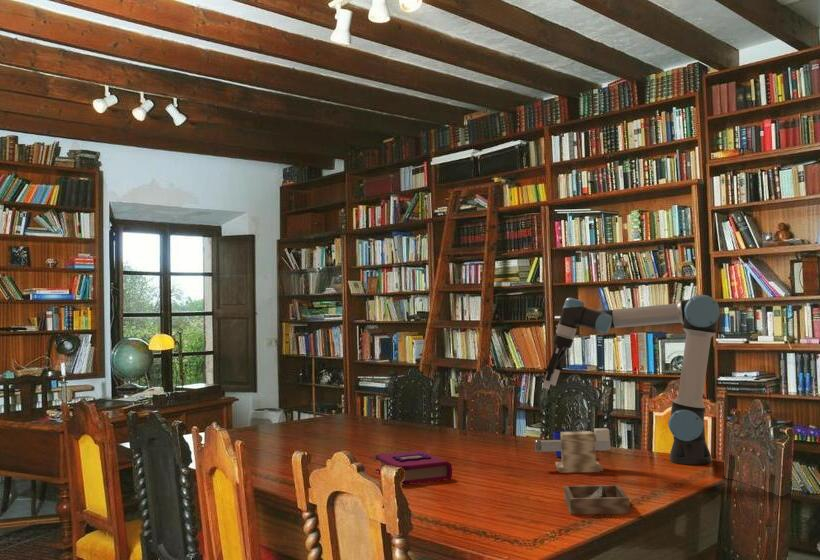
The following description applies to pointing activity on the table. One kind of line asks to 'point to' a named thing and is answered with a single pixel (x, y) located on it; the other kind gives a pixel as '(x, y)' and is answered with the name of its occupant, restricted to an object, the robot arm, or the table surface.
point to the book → (417, 466)
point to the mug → (557, 437)
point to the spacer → (601, 434)
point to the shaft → (557, 445)
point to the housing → (578, 453)
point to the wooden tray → (596, 500)
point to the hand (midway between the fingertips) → (548, 386)
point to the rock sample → (598, 493)
